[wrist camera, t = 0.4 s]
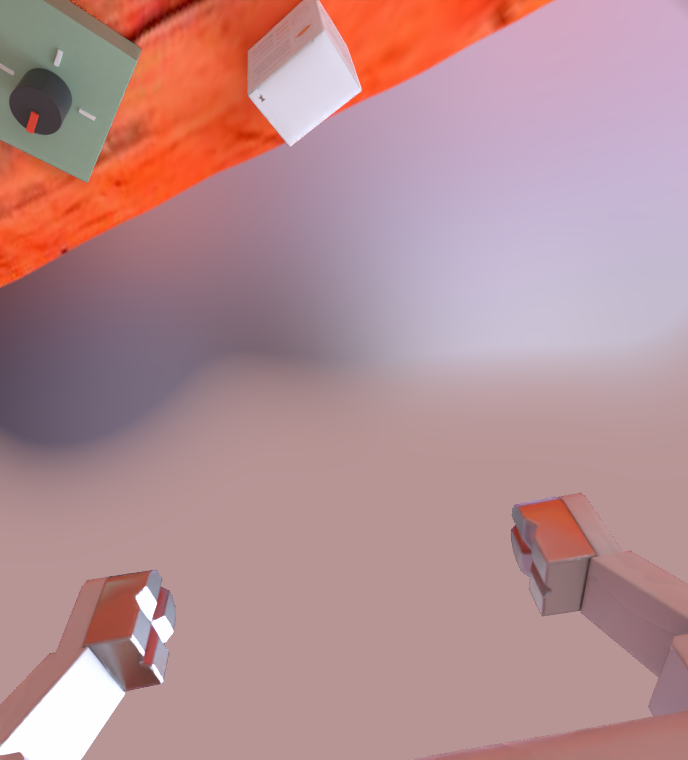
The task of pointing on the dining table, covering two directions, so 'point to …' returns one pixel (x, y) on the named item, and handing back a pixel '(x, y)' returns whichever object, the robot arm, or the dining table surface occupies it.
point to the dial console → (64, 77)
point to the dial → (40, 101)
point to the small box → (301, 72)
